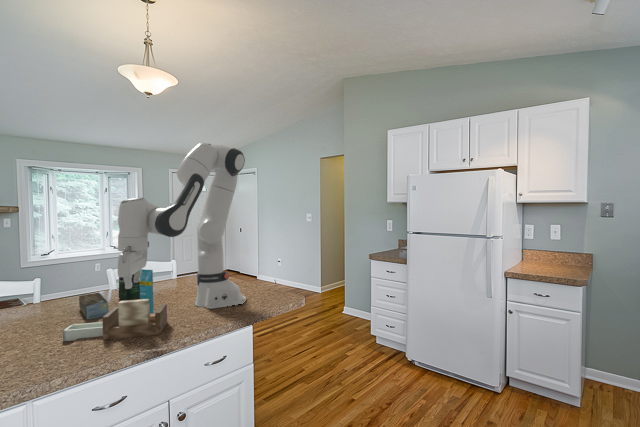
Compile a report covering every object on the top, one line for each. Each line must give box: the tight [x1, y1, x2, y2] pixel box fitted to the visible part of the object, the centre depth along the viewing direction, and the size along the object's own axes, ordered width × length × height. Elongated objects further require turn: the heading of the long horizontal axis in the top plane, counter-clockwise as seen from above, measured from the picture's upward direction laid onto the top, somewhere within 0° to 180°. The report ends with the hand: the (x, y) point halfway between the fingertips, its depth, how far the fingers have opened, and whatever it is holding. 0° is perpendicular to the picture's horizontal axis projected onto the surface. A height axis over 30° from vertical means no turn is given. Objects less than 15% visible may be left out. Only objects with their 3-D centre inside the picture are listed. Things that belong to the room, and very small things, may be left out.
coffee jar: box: [118, 274, 140, 301], centre depth 159 cm, size 10×8×19 cm
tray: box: [62, 321, 103, 342], centre depth 114 cm, size 12×6×4 cm, turn 104°
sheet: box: [117, 299, 150, 327], centre depth 114 cm, size 9×2×12 cm, turn 104°
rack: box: [101, 302, 168, 340], centre depth 117 cm, size 18×11×8 cm, turn 104°
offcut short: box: [150, 312, 156, 323], centre depth 120 cm, size 6×4×2 cm
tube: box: [139, 268, 155, 313], centre depth 133 cm, size 7×5×19 cm, turn 72°
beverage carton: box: [78, 292, 109, 320], centre depth 139 cm, size 8×19×7 cm, turn 43°
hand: (133, 285), depth 113 cm, fingers open, 8 cm apart
